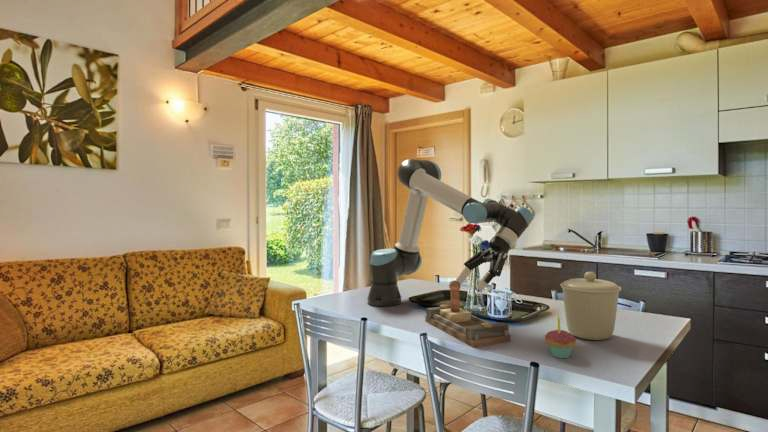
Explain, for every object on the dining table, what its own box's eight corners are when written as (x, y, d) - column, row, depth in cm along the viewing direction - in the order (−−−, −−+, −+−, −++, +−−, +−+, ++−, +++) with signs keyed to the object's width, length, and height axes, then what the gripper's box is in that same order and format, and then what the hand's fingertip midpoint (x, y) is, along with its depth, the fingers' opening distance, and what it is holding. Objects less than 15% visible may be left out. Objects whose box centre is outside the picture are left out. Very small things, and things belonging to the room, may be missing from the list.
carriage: (439, 317, 159) (439, 279, 159) (458, 315, 162) (458, 277, 162) (451, 323, 152) (450, 283, 151) (470, 320, 155) (470, 281, 154)
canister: (551, 336, 143) (551, 272, 142) (571, 324, 156) (571, 266, 155) (611, 348, 131) (611, 278, 130) (628, 334, 144) (628, 271, 143)
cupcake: (573, 362, 120) (573, 319, 120) (541, 357, 125) (541, 315, 124) (578, 353, 127) (578, 312, 127) (547, 348, 132) (547, 308, 131)
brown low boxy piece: (425, 321, 164) (425, 306, 163) (457, 316, 169) (457, 302, 169) (472, 347, 134) (472, 329, 134) (510, 341, 139) (510, 323, 139)
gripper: (531, 252, 152) (495, 299, 147) (489, 245, 175) (456, 285, 170) (518, 237, 150) (481, 284, 145) (477, 232, 173) (444, 273, 168)
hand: (468, 285), depth 157 cm, fingers open, 13 cm apart
